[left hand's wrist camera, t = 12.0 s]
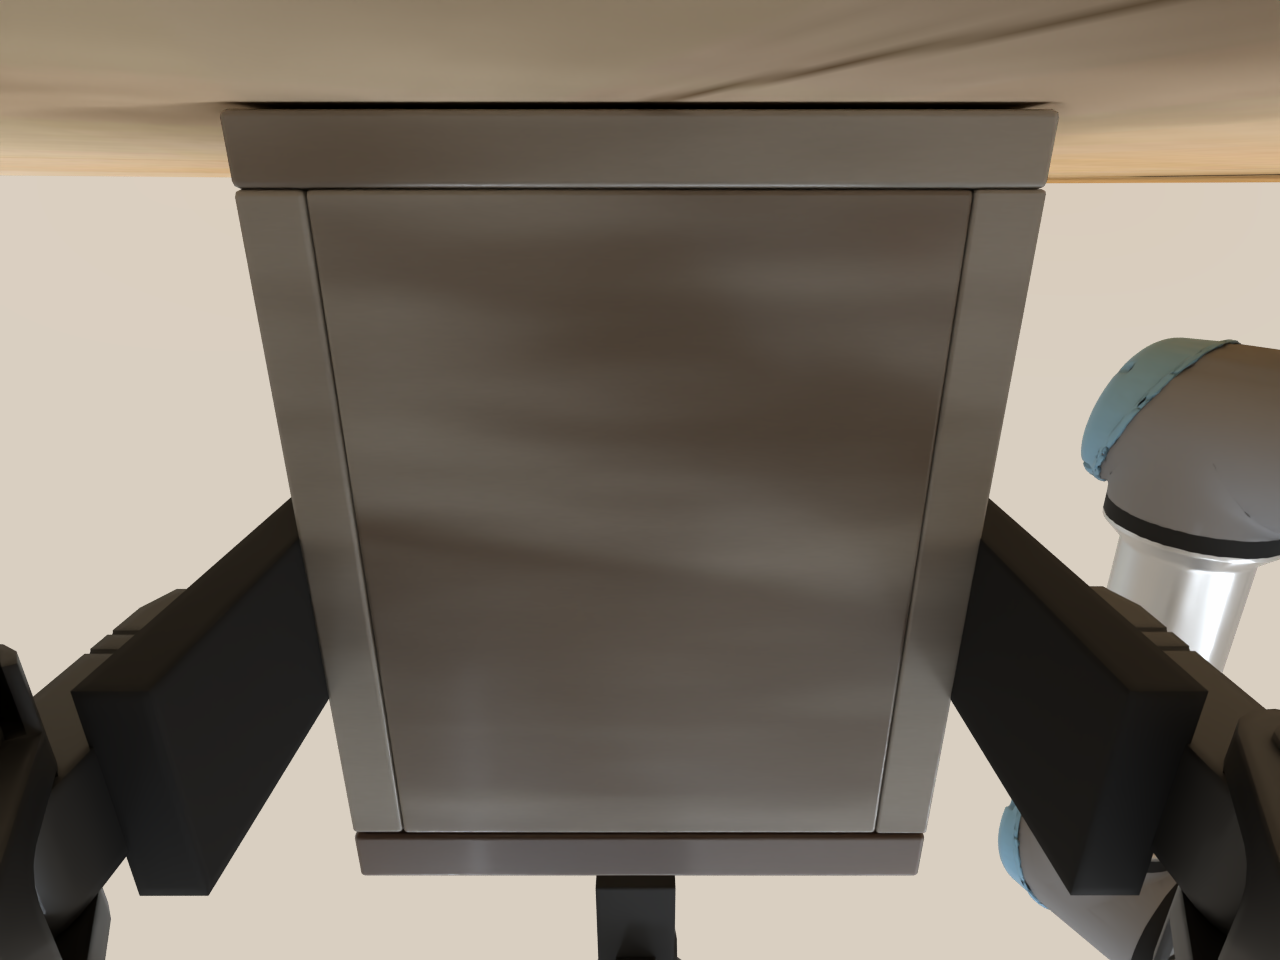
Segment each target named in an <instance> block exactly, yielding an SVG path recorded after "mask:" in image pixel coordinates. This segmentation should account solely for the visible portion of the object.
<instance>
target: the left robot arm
mask: <svg viewBox="0 0 1280 960" xmlns="http://www.w3.org/2000/svg"><path fill="white" fill-rule="evenodd" d="M328 699H329V695H328V690H327V685H326V679H325V674H324V669H323V663H322V658H321V653H320V647H319V642H318V637H317V631H316V626H315V621H314V615H313V610H312V605H311V599H310V594H309V589H308V583H307V578H306V573H305V567H304V562H303V557H302V551H301V546H300V541H299V535H298V530H297V524H296V519H295V514H294V508H293V503H292V498H290V499H289V500H288V501H286V502H285V503H284V504H283V505H282V506H281V507H280V508H278V509H277V510H276V511H275V512H274V513H273V514H272V515H271V516H269V517H268V518H267V519H266V520H265V521H264V522H263V523H261V524H260V525H259V526H258V527H257V528H256V529H255V530H253V531H252V532H251V533H250V534H249V535H248V536H247V537H246V538H244V539H243V540H242V541H241V542H240V543H239V544H237V545H236V546H235V547H234V548H233V549H232V550H231V551H230V552H228V553H227V554H226V555H225V556H224V557H223V558H222V559H220V560H219V561H218V562H217V563H216V564H215V565H214V566H212V567H211V568H210V569H209V570H208V571H207V572H206V573H204V574H203V575H202V576H201V577H200V578H199V579H198V580H196V581H195V582H194V583H193V584H192V585H191V586H190V587H188V588H187V589H176V590H174V591H172V592H170V593H168V594H166V595H164V596H162V597H160V598H158V599H156V600H154V601H153V602H151V603H149V604H147V605H145V606H143V607H141V608H139V609H138V610H137V611H136V612H134V613H133V614H132V615H131V616H129V617H128V618H127V619H126V620H125V621H124V622H122V623H121V624H120V625H119V626H117V627H116V628H115V629H114V630H113V634H112V635H107V636H105V637H104V638H103V639H102V640H101V641H99V642H98V643H97V644H96V645H95V646H94V647H92V648H91V651H90V654H84V655H83V656H81V657H80V658H79V659H78V660H77V661H75V662H74V663H73V664H72V665H71V666H69V667H68V668H67V669H66V670H65V671H63V672H62V673H61V674H60V675H59V676H58V677H56V678H55V679H54V680H53V681H51V682H50V683H49V684H48V685H47V686H45V687H44V688H43V689H42V690H41V691H39V692H38V693H37V694H36V695H35V696H32V693H31V690H30V687H29V685H28V682H27V679H26V676H25V674H24V671H23V668H22V665H21V663H20V660H19V657H18V654H17V652H16V651H14V650H13V649H11V648H9V647H7V646H5V645H3V644H0V960H105V956H106V949H107V942H108V935H109V928H110V921H111V917H110V911H109V905H108V901H107V899H106V896H105V893H104V891H103V888H102V887H103V886H104V884H105V883H106V882H107V881H108V879H109V878H110V877H111V875H112V874H113V873H114V872H115V870H116V869H117V868H118V866H119V865H120V864H121V863H122V861H123V860H124V859H125V857H127V860H128V863H129V866H130V868H131V871H132V874H133V877H134V880H135V883H136V886H137V889H138V892H139V895H140V896H208V895H209V894H210V892H211V891H212V889H213V887H214V886H215V884H216V882H217V881H218V879H219V878H220V876H221V874H222V873H223V871H224V869H225V868H226V866H227V864H228V863H229V861H230V859H231V858H232V856H233V855H234V853H235V851H236V850H237V848H238V846H239V845H240V843H241V842H242V840H243V838H244V837H245V835H246V833H247V832H248V830H249V829H250V827H251V825H252V824H253V822H254V820H255V819H256V817H257V815H258V814H259V812H260V811H261V809H262V807H263V806H264V804H265V802H266V801H267V799H268V797H269V796H270V794H271V793H272V791H273V789H274V788H275V786H276V784H277V783H278V781H279V779H280V778H281V776H282V775H283V773H284V771H285V770H286V768H287V766H288V765H289V763H290V761H291V760H292V758H293V757H294V755H295V753H296V752H297V750H298V748H299V747H300V745H301V743H302V742H303V740H304V739H305V737H306V735H307V734H308V732H309V730H310V729H311V727H312V725H313V724H314V722H315V721H316V719H317V717H318V716H319V714H320V712H321V711H322V709H323V708H324V706H325V704H326V703H327V701H328ZM950 699H951V701H952V702H953V704H954V706H955V707H956V709H957V711H958V712H959V714H960V715H961V717H962V719H963V720H964V722H965V724H966V725H967V727H968V729H969V730H970V732H971V733H972V735H973V737H974V738H975V740H976V742H977V743H978V745H979V746H980V748H981V750H982V751H983V753H984V755H985V756H986V758H987V760H988V761H989V763H990V765H991V766H992V768H993V769H994V771H995V773H996V774H997V776H998V778H999V779H1000V781H1001V782H1002V784H1003V786H1004V787H1005V789H1006V791H1007V792H1008V794H1009V796H1010V797H1011V799H1012V801H1013V802H1014V804H1015V805H1016V807H1017V809H1018V810H1019V812H1020V814H1021V815H1022V817H1023V818H1024V820H1025V822H1026V823H1027V825H1028V827H1029V828H1030V830H1031V832H1032V833H1033V835H1034V836H1035V838H1036V840H1037V841H1038V843H1039V845H1040V846H1041V848H1042V850H1043V851H1044V853H1045V854H1046V856H1047V858H1048V859H1049V861H1050V863H1051V864H1052V866H1053V868H1054V869H1055V871H1056V872H1057V874H1058V876H1059V877H1060V879H1061V881H1062V882H1063V884H1064V886H1065V887H1066V889H1067V890H1068V892H1069V894H1070V895H1140V892H1141V889H1142V886H1143V883H1144V880H1145V877H1146V874H1147V871H1148V868H1149V865H1150V862H1151V859H1152V856H1153V853H1154V854H1155V856H1156V857H1157V858H1158V860H1159V861H1160V862H1161V863H1162V865H1163V866H1164V867H1165V869H1166V870H1167V871H1168V872H1169V874H1170V875H1171V876H1172V878H1173V879H1174V880H1175V881H1176V883H1177V884H1178V888H1177V890H1176V893H1175V896H1174V899H1173V901H1172V904H1171V907H1170V910H1169V912H1168V915H1167V918H1166V921H1165V923H1164V926H1163V929H1162V932H1161V934H1160V937H1159V940H1158V943H1157V945H1156V948H1155V951H1154V955H1153V960H1168V959H1169V957H1170V956H1171V955H1173V954H1175V960H1280V710H1278V709H1267V710H1266V709H1265V708H1264V707H1262V706H1261V705H1260V704H1259V703H1258V702H1256V701H1255V700H1254V699H1253V698H1252V697H1250V696H1249V695H1248V694H1247V693H1246V692H1244V691H1243V690H1242V689H1241V688H1239V687H1238V686H1237V685H1236V684H1235V683H1233V682H1232V681H1231V680H1230V679H1229V678H1227V677H1226V676H1225V675H1224V674H1223V673H1221V672H1220V671H1219V670H1218V669H1216V668H1215V667H1214V666H1213V665H1212V664H1210V663H1209V662H1208V661H1207V660H1206V659H1204V658H1203V657H1202V656H1201V655H1200V654H1198V653H1197V652H1196V651H1190V649H1189V645H1187V644H1186V643H1185V642H1184V641H1183V640H1181V639H1180V638H1179V637H1178V636H1177V635H1175V634H1174V633H1173V632H1167V627H1166V626H1164V625H1163V624H1162V623H1161V622H1160V621H1158V620H1157V619H1156V618H1155V617H1154V616H1152V615H1151V614H1150V613H1149V612H1148V611H1146V610H1145V609H1144V608H1143V607H1142V606H1140V605H1138V604H1137V603H1135V602H1133V601H1131V600H1129V599H1127V598H1125V597H1123V596H1121V595H1119V594H1117V593H1115V592H1113V591H1111V590H1109V589H1107V588H1105V587H1103V586H1088V585H1087V584H1086V583H1085V582H1084V581H1083V580H1081V579H1080V578H1079V577H1078V576H1077V575H1076V574H1075V573H1073V572H1072V571H1071V570H1070V569H1069V568H1068V567H1067V566H1066V565H1064V564H1063V563H1062V562H1061V561H1060V560H1059V559H1058V558H1056V557H1055V556H1054V555H1053V554H1052V553H1051V552H1050V551H1048V550H1047V549H1046V548H1045V547H1044V546H1043V545H1042V544H1040V543H1039V542H1038V541H1037V540H1036V539H1035V538H1034V537H1032V536H1031V535H1030V534H1029V533H1028V532H1027V531H1026V530H1025V529H1023V528H1022V527H1021V526H1020V525H1019V524H1018V523H1017V522H1015V521H1014V520H1013V519H1012V518H1011V517H1010V516H1009V515H1007V514H1006V513H1005V512H1004V511H1003V510H1002V509H1001V508H999V507H998V506H997V505H996V504H995V503H994V502H993V501H992V500H990V499H988V504H987V509H986V515H985V520H984V525H983V531H982V536H981V538H980V544H979V549H978V554H977V560H976V565H975V570H974V576H973V581H972V586H971V592H970V597H969V602H968V608H967V613H966V618H965V624H964V629H963V634H962V640H961V645H960V650H959V656H958V661H957V666H956V672H955V677H954V682H953V688H952V693H951V698H950Z"/></svg>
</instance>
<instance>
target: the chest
mask: <svg viewBox="0 0 1280 960" xmlns="http://www.w3.org/2000/svg"><path fill="white" fill-rule="evenodd" d="M220 119H221V124H222V130H223V135H224V140H225V146H226V151H227V156H228V162H229V167H230V172H231V178H232V182H233V184H234V185H235V186H236V187H238V188H240V189H241V190H239V191H237V192H236V195H235V199H236V204H237V210H238V215H239V220H240V226H241V231H242V236H243V242H244V247H245V252H246V257H247V263H248V268H249V273H250V279H251V284H252V290H253V295H254V300H255V306H256V311H257V316H258V322H259V327H260V332H261V338H262V343H263V348H264V354H265V359H266V364H267V370H268V375H269V380H270V386H271V391H272V396H273V402H274V407H275V412H276V418H277V423H278V428H279V434H280V439H281V444H282V450H283V455H284V460H285V466H286V471H287V476H288V482H289V487H290V492H291V498H292V503H293V508H294V514H295V519H296V524H297V530H298V535H299V541H300V546H301V551H302V557H303V562H304V567H305V573H306V578H307V583H308V589H309V594H310V599H311V605H312V610H313V615H314V621H315V626H316V631H317V637H318V642H319V647H320V653H321V658H322V663H323V669H324V674H325V679H326V685H327V690H328V695H329V701H330V706H331V711H332V717H333V722H334V727H335V733H336V738H337V743H338V749H339V754H340V759H341V764H342V770H343V775H344V781H345V786H346V791H347V797H348V802H349V807H350V813H351V818H352V823H353V829H354V830H355V831H357V832H399V831H402V829H403V827H404V830H405V831H406V832H874V830H876V832H878V833H925V832H926V829H927V823H928V818H929V813H930V807H931V802H932V797H933V791H934V786H935V781H936V775H937V770H938V765H939V759H940V754H941V749H942V743H943V738H944V733H945V728H946V722H947V717H948V712H949V706H950V701H951V699H950V698H951V693H952V688H953V682H954V677H955V672H956V666H957V661H958V656H959V650H960V645H961V640H962V634H963V629H964V624H965V618H966V613H967V608H968V602H969V597H970V592H971V586H972V581H973V576H974V570H975V565H976V560H977V554H978V549H979V544H980V538H981V536H982V531H983V525H984V520H985V515H986V509H987V504H988V499H989V493H990V488H991V483H992V477H993V472H994V467H995V461H996V456H997V451H998V445H999V440H1000V435H1001V430H1002V424H1003V419H1004V414H1005V408H1006V403H1007V398H1008V392H1009V387H1010V382H1011V376H1012V371H1013V366H1014V360H1015V355H1016V350H1017V344H1018V339H1019V334H1020V328H1021V323H1022V318H1023V312H1024V307H1025V302H1026V296H1027V291H1028V286H1029V281H1030V275H1031V270H1032V265H1033V259H1034V254H1035V249H1036V243H1037V238H1038V233H1039V227H1040V222H1041V217H1042V211H1043V206H1044V201H1045V195H1046V193H1045V191H1044V190H1042V189H1039V188H1042V187H1044V186H1045V184H1046V182H1047V178H1048V172H1049V167H1050V162H1051V156H1052V151H1053V146H1054V140H1055V135H1056V130H1057V124H1058V119H1059V115H1058V112H1056V111H1054V110H1052V109H226V110H224V111H222V112H221V115H220Z"/></svg>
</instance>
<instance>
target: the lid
mask: <svg viewBox="0 0 1280 960" xmlns="http://www.w3.org/2000/svg"><path fill="white" fill-rule="evenodd" d="M355 840H356V846H357V851H358V856H359V862H360V867H361V872H362V874H363V875H916V874H917V873H918V867H919V862H920V857H921V851H922V846H923V841H924V835H923V833H878V832H876V830H874V832H406V831H405V830H404V827H403V829H402V831H399V832H357V833H356V835H355Z"/></svg>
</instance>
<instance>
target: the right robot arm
mask: <svg viewBox="0 0 1280 960" xmlns="http://www.w3.org/2000/svg"><path fill="white" fill-rule="evenodd" d="M1081 456H1082V459H1083V461H1084V463H1083V464H1084V467H1085V469H1086V470H1087V471H1088V472H1089V473H1090V474H1092V475H1093V476H1094V477H1096V478H1097V479H1098V480H1101V481H1106V480H1107V481H1108V489H1107V493H1106V498H1105V502H1104V506H1103V514H1104V517H1105V518H1106V520H1107V521H1108V522H1109V523H1110V524H1111V525H1112V527H1113V528H1114V529H1115V530H1116V531H1117V532H1118V533H1119V534H1120V537H1119V541H1118V545H1117V549H1116V553H1115V557H1114V561H1113V565H1112V569H1111V573H1110V578H1109V581H1108V585H1107V589H1109V590H1111V591H1113V592H1115V593H1117V594H1119V595H1121V596H1123V597H1125V598H1127V599H1129V600H1131V601H1133V602H1135V603H1137V604H1138V605H1140V606H1142V607H1143V608H1144V609H1145V610H1146V611H1148V612H1149V613H1150V614H1151V615H1152V616H1154V617H1155V618H1156V619H1157V620H1158V621H1160V622H1161V623H1162V624H1163V625H1164V626H1166V627H1167V632H1173V633H1174V634H1175V635H1177V636H1178V637H1179V638H1180V639H1181V640H1183V641H1184V642H1185V643H1186V644H1187V645H1189V649H1190V651H1196V652H1197V653H1198V654H1200V655H1201V656H1202V657H1203V658H1204V659H1206V660H1207V661H1208V662H1209V663H1210V664H1212V665H1213V666H1214V667H1215V668H1216V669H1218V670H1219V671H1220V672H1221V673H1222V672H1223V669H1224V666H1225V663H1226V660H1227V657H1228V654H1229V651H1230V648H1231V645H1232V642H1233V639H1234V636H1235V633H1236V630H1237V627H1238V624H1239V621H1240V618H1241V615H1242V612H1243V609H1244V606H1245V603H1246V600H1247V597H1248V594H1249V591H1250V588H1251V585H1252V582H1253V579H1254V576H1255V573H1256V570H1257V567H1258V566H1261V565H1264V564H1267V563H1270V562H1273V561H1276V560H1279V559H1280V350H1277V349H1270V348H1263V347H1256V346H1249V345H1242V344H1241V343H1239V342H1238V341H1236V340H1223V341H1211V340H1201V339H1190V338H1170V339H1165V340H1161V341H1159V342H1156V343H1154V344H1152V345H1150V346H1148V347H1146V348H1144V349H1143V350H1141V351H1140V352H1139V353H1137V354H1136V355H1135V356H1133V357H1132V358H1131V359H1130V360H1129V361H1128V362H1127V363H1126V364H1125V365H1124V366H1123V367H1122V368H1121V369H1120V371H1119V372H1118V373H1117V374H1116V375H1115V376H1114V377H1113V378H1112V380H1111V381H1110V382H1109V384H1108V385H1107V387H1106V388H1105V389H1104V391H1103V393H1102V394H1101V396H1100V397H1099V399H1098V401H1097V403H1096V405H1095V407H1094V408H1093V411H1092V413H1091V415H1090V417H1089V420H1088V423H1087V425H1086V428H1085V432H1084V435H1083V440H1082V447H1081ZM998 846H999V854H1000V858H1001V861H1002V863H1003V865H1004V867H1005V869H1006V871H1007V872H1008V873H1009V875H1010V876H1011V877H1012V878H1013V879H1014V880H1015V881H1016V882H1018V883H1019V884H1020V885H1021V886H1022V887H1023V888H1024V889H1025V890H1027V891H1028V893H1029V895H1030V896H1031V897H1032V898H1033V899H1034V900H1035V901H1036V902H1037V903H1038V904H1040V905H1041V906H1043V907H1044V908H1046V909H1049V910H1051V911H1052V912H1053V913H1054V914H1056V915H1057V916H1058V917H1059V918H1060V919H1062V920H1063V921H1064V922H1065V923H1066V924H1068V925H1069V926H1070V927H1071V928H1072V929H1073V930H1075V931H1076V932H1077V933H1078V934H1079V935H1081V936H1082V937H1083V938H1084V939H1086V940H1087V941H1088V942H1089V943H1090V944H1091V945H1093V946H1094V947H1095V948H1096V949H1097V950H1099V951H1100V952H1101V953H1102V954H1103V955H1105V956H1106V957H1107V958H1108V959H1110V960H1153V955H1154V951H1155V948H1156V945H1157V943H1158V940H1159V937H1160V934H1161V932H1162V929H1163V926H1164V923H1165V921H1166V918H1167V915H1168V912H1169V910H1170V907H1171V904H1172V901H1173V899H1174V896H1175V893H1176V890H1177V888H1178V884H1177V883H1176V881H1175V880H1174V879H1173V878H1172V876H1171V875H1170V874H1169V872H1168V871H1167V870H1166V869H1165V867H1164V866H1163V865H1162V863H1161V862H1160V861H1159V860H1158V858H1157V857H1156V856H1155V854H1154V853H1153V856H1152V859H1151V862H1150V865H1149V868H1148V871H1147V874H1146V877H1145V880H1144V883H1143V886H1142V889H1141V892H1140V895H1070V894H1069V892H1068V890H1067V889H1066V887H1065V886H1064V884H1063V882H1062V881H1061V879H1060V877H1059V876H1058V874H1057V872H1056V871H1055V869H1054V868H1053V866H1052V864H1051V863H1050V861H1049V859H1048V858H1047V856H1046V854H1045V853H1044V851H1043V850H1042V848H1041V846H1040V845H1039V843H1038V841H1037V840H1036V838H1035V836H1034V835H1033V833H1032V832H1031V830H1030V828H1029V827H1028V825H1027V823H1026V822H1025V820H1024V818H1023V817H1022V815H1021V814H1020V812H1019V810H1018V809H1017V807H1016V805H1015V804H1014V802H1013V801H1011V804H1010V805H1009V806H1008V807H1006V808H1005V810H1004V813H1003V816H1002V819H1001V823H1000V828H999V835H998ZM596 909H597V935H598V960H681V959H679V958H678V957H677V938H676V932H675V875H597V876H596ZM1168 960H1175V954H1173V955H1171V956H1170V957H1169V959H1168Z"/></svg>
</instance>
